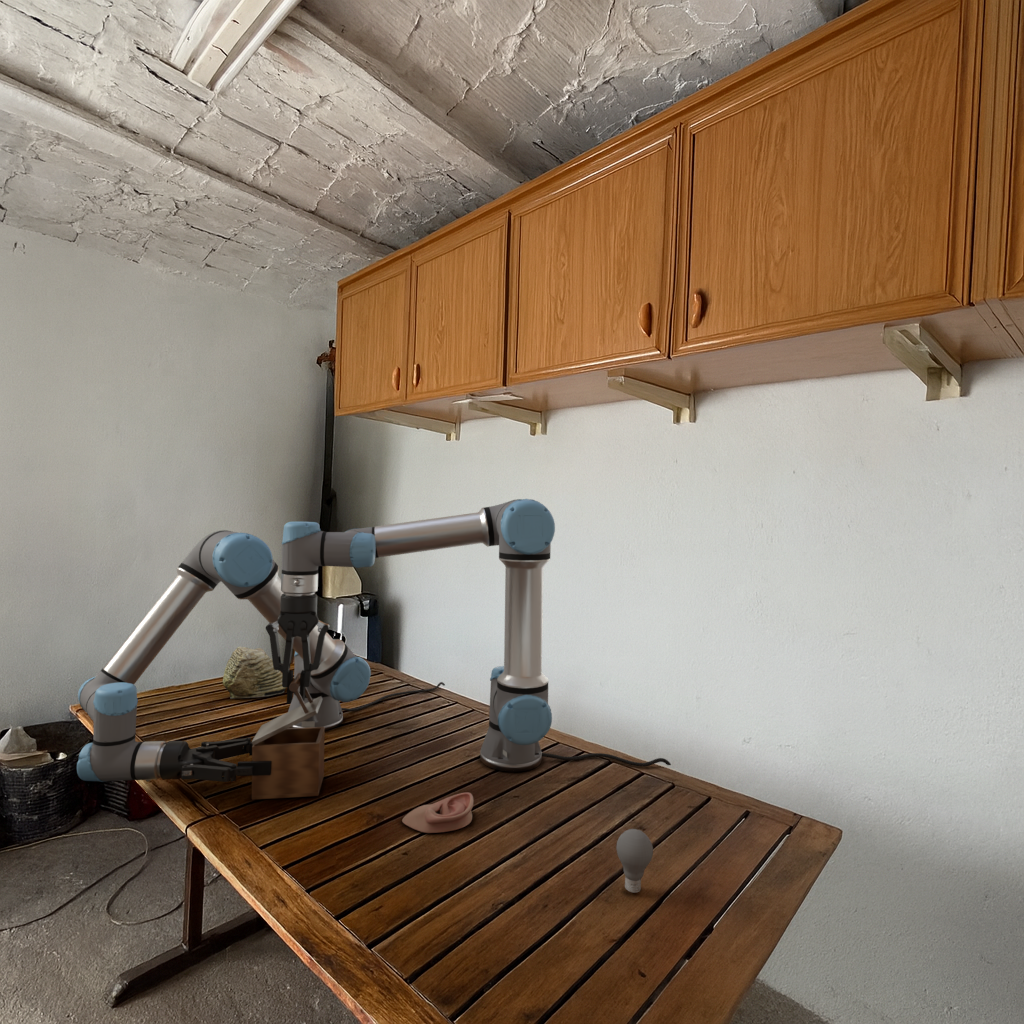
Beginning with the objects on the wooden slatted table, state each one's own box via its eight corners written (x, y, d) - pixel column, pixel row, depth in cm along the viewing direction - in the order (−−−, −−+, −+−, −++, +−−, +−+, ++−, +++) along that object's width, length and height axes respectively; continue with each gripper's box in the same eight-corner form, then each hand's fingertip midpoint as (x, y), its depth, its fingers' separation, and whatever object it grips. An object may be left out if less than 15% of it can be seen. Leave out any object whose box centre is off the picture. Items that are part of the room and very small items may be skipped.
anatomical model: (396, 808, 122) (417, 782, 133) (395, 828, 122) (416, 801, 133) (463, 818, 119) (478, 791, 130) (462, 839, 119) (477, 810, 131)
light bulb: (610, 879, 108) (613, 822, 108) (644, 879, 109) (647, 822, 109) (619, 902, 102) (622, 840, 102) (655, 901, 103) (658, 840, 103)
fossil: (218, 695, 195) (220, 647, 195) (278, 685, 208) (279, 640, 207) (228, 703, 189) (230, 653, 188) (289, 692, 201) (290, 645, 201)
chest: (323, 775, 143) (324, 726, 143) (318, 796, 134) (319, 743, 133) (261, 779, 141) (262, 729, 141) (251, 799, 131) (252, 746, 131)
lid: (322, 699, 143) (307, 667, 142) (317, 714, 133) (300, 680, 132) (263, 728, 141) (247, 696, 140) (253, 745, 131) (235, 711, 130)
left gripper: (181, 756, 144) (284, 754, 148) (142, 803, 122) (264, 799, 126) (183, 723, 144) (285, 722, 147) (143, 764, 122) (265, 761, 125)
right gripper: (258, 595, 131) (255, 708, 132) (333, 596, 134) (329, 706, 135) (266, 590, 139) (263, 696, 139) (336, 591, 141) (333, 695, 142)
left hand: (275, 757), depth 136 cm, fingers closed on chest, 10 cm apart
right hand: (295, 701), depth 137 cm, fingers closed on lid, 2 cm apart
